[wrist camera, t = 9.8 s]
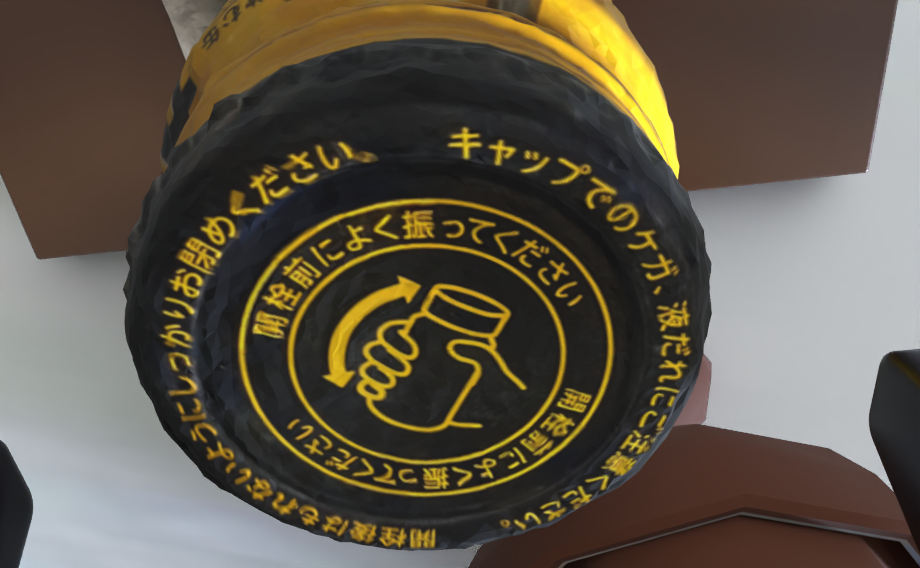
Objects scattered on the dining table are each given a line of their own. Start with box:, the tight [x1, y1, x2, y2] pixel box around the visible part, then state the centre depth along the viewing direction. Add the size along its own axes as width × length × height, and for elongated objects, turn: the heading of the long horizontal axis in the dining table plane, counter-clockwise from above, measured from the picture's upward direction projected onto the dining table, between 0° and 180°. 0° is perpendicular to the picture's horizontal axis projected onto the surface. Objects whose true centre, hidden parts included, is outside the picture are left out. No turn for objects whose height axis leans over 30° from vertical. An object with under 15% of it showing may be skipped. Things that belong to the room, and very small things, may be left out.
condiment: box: [123, 0, 712, 551], centre depth 12 cm, size 7×8×12 cm
